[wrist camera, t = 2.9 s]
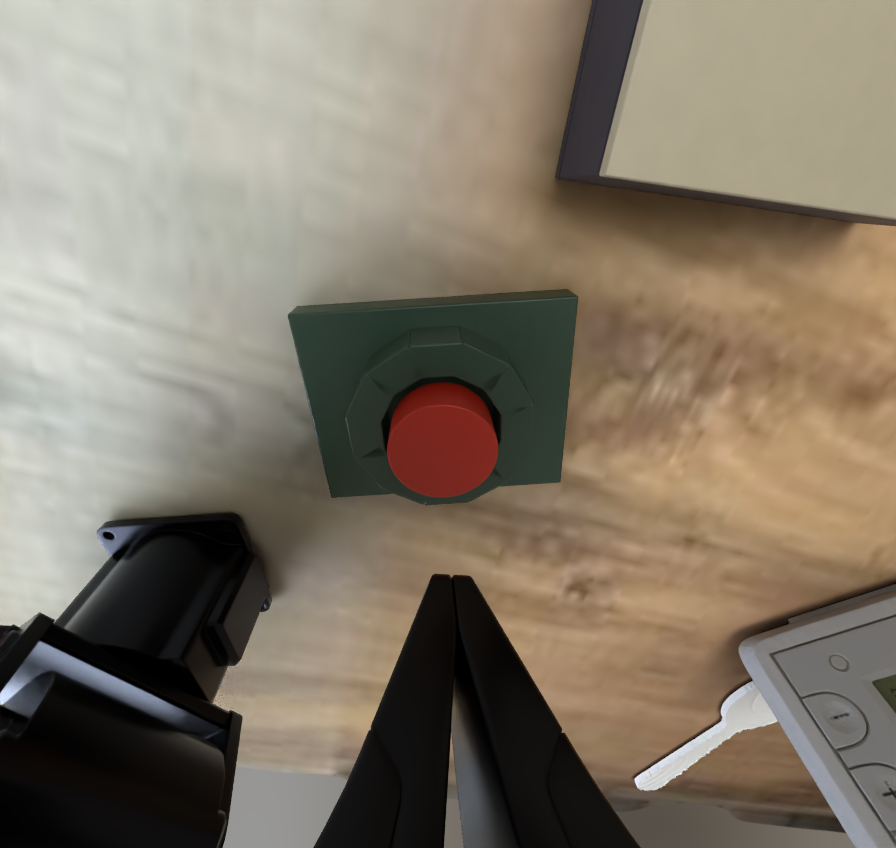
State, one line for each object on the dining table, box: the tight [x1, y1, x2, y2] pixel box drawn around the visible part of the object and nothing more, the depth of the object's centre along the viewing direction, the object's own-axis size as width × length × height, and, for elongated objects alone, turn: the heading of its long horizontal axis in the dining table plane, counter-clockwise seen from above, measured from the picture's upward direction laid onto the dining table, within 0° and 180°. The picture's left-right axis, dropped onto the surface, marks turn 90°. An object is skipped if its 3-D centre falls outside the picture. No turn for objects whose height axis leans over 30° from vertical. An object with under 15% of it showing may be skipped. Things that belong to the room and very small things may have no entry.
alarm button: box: [387, 382, 498, 497], centre depth 14 cm, size 4×4×2 cm
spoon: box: [635, 681, 778, 791], centre depth 32 cm, size 5×18×1 cm, turn 154°
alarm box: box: [288, 289, 578, 505], centre depth 16 cm, size 10×8×3 cm
